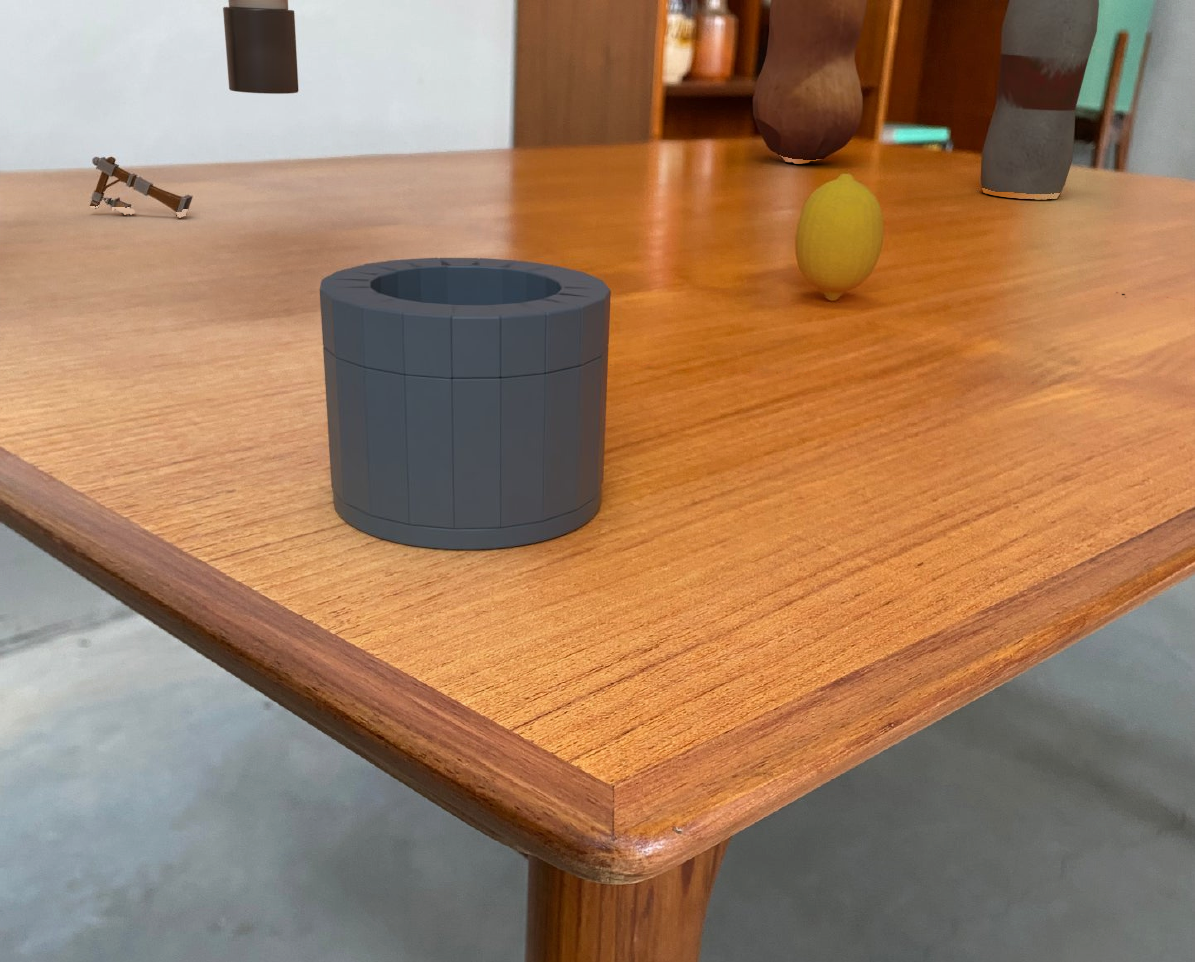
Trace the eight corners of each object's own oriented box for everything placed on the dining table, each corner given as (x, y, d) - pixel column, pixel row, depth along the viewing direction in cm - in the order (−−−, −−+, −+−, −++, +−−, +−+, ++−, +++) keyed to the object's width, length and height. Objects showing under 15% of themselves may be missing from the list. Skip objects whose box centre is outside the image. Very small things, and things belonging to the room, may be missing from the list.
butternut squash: (877, 167, 155) (906, -58, 144) (795, 171, 149) (818, -65, 138) (804, 155, 166) (826, -56, 155) (724, 158, 159) (741, -63, 148)
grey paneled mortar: (291, 535, 43) (274, 303, 40) (382, 446, 52) (374, 250, 49) (576, 562, 42) (583, 325, 38) (618, 466, 51) (627, 267, 47)
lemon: (866, 293, 84) (882, 170, 81) (880, 311, 79) (898, 180, 76) (785, 290, 84) (797, 166, 81) (793, 308, 79) (807, 176, 76)
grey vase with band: (973, 196, 133) (1025, -127, 120) (977, 187, 141) (1026, -118, 128) (1065, 204, 130) (1128, -126, 117) (1064, 193, 138) (1123, -117, 125)
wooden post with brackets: (84, 200, 103) (99, 148, 101) (177, 244, 104) (193, 193, 103) (75, 203, 101) (91, 150, 100) (170, 247, 103) (187, 196, 101)
